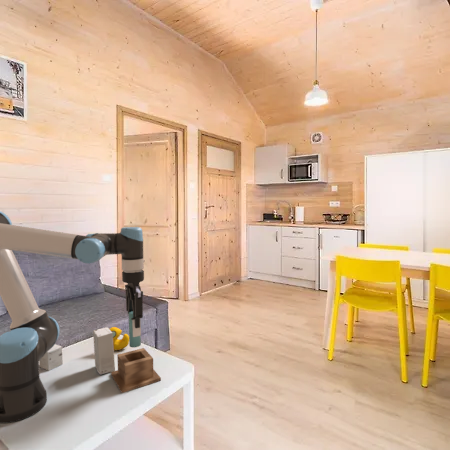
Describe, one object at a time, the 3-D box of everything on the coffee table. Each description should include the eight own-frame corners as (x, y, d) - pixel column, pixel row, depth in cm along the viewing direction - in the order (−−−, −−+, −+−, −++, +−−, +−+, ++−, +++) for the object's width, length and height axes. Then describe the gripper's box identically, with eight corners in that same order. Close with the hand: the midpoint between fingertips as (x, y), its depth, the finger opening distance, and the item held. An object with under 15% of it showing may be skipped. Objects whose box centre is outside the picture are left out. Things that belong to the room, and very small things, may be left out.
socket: (121, 393, 110) (121, 370, 109) (111, 374, 122) (110, 353, 121) (160, 380, 118) (160, 359, 117) (147, 364, 129) (146, 344, 129)
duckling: (101, 354, 138) (100, 331, 137) (102, 348, 143) (102, 326, 143) (129, 350, 141) (128, 328, 140) (129, 345, 146) (129, 323, 146)
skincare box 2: (115, 371, 124) (114, 333, 123) (98, 375, 121) (97, 336, 120) (109, 362, 131) (108, 326, 130) (93, 366, 128) (92, 329, 127)
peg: (131, 348, 116) (130, 315, 115) (128, 344, 119) (127, 312, 119) (142, 345, 118) (141, 313, 117) (138, 341, 122) (137, 310, 121)
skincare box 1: (48, 371, 124) (47, 352, 124) (39, 367, 127) (38, 348, 127) (63, 364, 130) (62, 346, 129) (53, 360, 133) (53, 343, 132)
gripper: (151, 273, 112) (153, 339, 113) (135, 265, 126) (137, 324, 128) (129, 276, 108) (131, 344, 109) (116, 267, 122) (118, 328, 123)
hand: (134, 333), depth 118 cm, fingers closed on peg, 4 cm apart
